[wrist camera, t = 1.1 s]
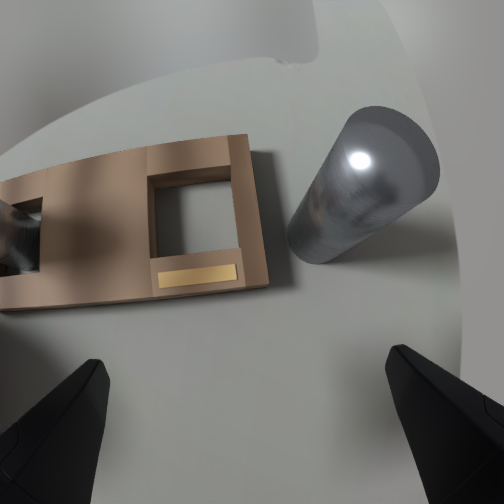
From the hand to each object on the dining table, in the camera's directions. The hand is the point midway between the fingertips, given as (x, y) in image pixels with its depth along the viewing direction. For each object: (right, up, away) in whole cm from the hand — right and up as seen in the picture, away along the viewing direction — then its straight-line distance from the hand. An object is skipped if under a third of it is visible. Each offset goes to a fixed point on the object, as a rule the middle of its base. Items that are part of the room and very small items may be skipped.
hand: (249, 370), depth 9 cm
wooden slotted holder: (-12, +5, +14) cm, 19 cm away
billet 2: (+5, +5, +15) cm, 16 cm away
